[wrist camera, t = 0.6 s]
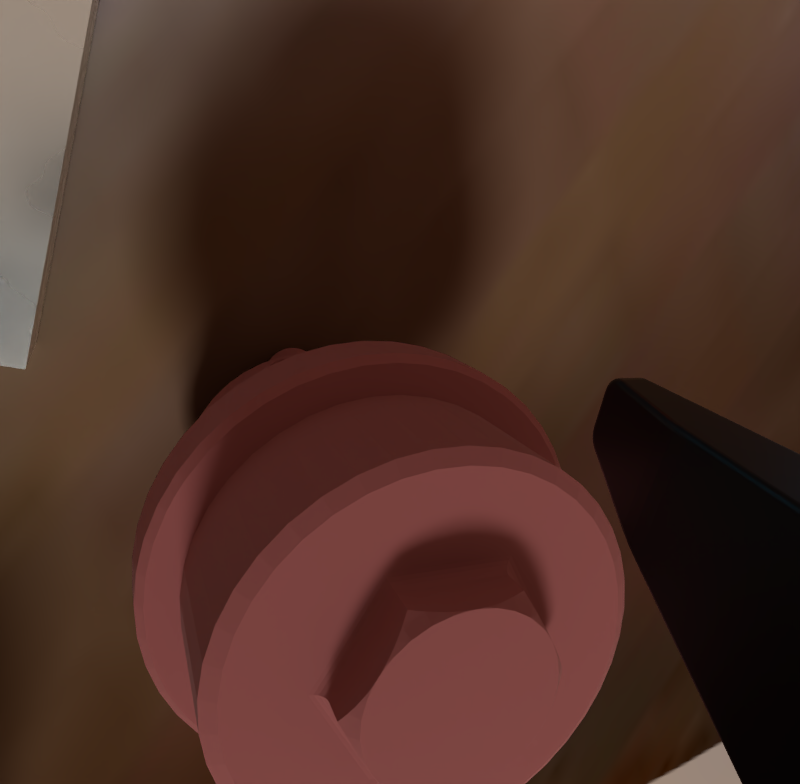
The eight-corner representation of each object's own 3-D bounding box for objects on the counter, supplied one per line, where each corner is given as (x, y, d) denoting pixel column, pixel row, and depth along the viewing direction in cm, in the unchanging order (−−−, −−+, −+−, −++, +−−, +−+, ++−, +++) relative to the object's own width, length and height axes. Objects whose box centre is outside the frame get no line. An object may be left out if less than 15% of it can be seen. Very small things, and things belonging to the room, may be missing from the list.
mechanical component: (234, 227, 20) (484, 385, 25) (59, 522, 20) (336, 623, 25) (389, 293, 9) (785, 555, 14) (5, 923, 10) (513, 970, 14)
